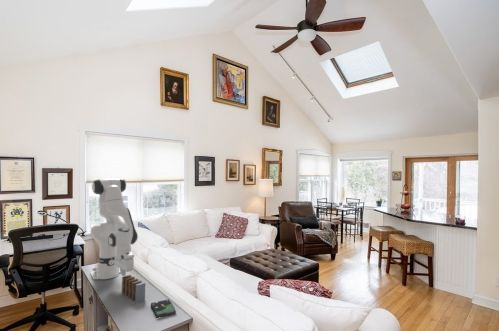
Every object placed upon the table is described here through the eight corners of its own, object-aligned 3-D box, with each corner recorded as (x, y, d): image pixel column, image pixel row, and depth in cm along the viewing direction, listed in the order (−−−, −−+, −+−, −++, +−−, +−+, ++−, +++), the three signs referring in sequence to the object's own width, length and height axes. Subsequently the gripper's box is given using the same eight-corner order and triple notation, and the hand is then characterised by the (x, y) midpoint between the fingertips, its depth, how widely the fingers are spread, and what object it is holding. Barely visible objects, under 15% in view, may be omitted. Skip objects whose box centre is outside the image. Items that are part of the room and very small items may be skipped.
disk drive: (150, 308, 151) (156, 320, 138) (150, 303, 151) (156, 314, 138) (168, 303, 156) (176, 314, 144) (168, 298, 156) (176, 309, 144)
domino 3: (128, 297, 162) (128, 280, 162) (136, 294, 166) (136, 278, 166) (129, 298, 161) (130, 281, 161) (137, 295, 165) (138, 279, 165)
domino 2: (124, 295, 165) (125, 278, 165) (132, 292, 169) (133, 276, 169) (126, 295, 164) (126, 279, 164) (134, 293, 167) (134, 277, 168)
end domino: (144, 299, 159) (145, 282, 159) (136, 302, 155) (137, 285, 156) (143, 298, 160) (143, 282, 161) (135, 301, 156) (135, 284, 157)
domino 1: (121, 292, 168) (122, 276, 168) (129, 290, 171) (130, 274, 172) (123, 293, 167) (123, 277, 167) (130, 291, 170) (131, 275, 171)
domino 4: (131, 299, 159) (132, 282, 160) (139, 296, 163) (140, 280, 163) (133, 300, 158) (133, 283, 158) (141, 297, 162) (141, 280, 162)
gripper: (111, 251, 178) (111, 272, 177) (125, 257, 164) (125, 280, 164) (121, 249, 182) (121, 270, 182) (135, 255, 169) (135, 277, 168)
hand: (123, 275), depth 173 cm, fingers closed
